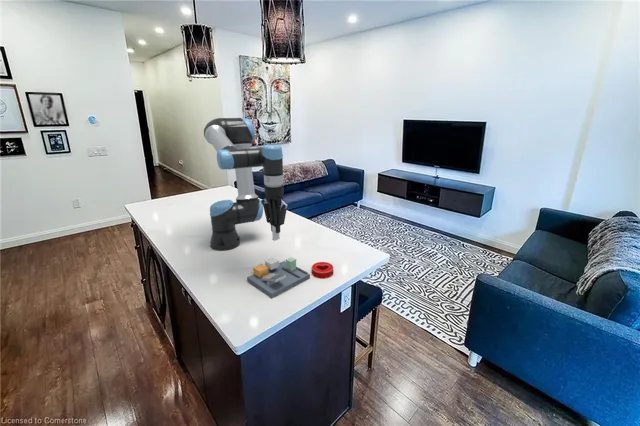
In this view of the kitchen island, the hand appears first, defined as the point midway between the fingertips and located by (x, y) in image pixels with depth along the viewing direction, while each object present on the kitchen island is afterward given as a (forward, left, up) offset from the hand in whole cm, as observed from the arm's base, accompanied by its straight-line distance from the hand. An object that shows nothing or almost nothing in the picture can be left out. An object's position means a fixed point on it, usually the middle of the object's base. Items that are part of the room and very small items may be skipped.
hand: (276, 239), depth 124 cm
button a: (0, -8, -13) cm, 16 cm away
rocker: (+8, -8, -11) cm, 16 cm away
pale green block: (+5, +4, -14) cm, 15 cm away
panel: (+5, -3, -16) cm, 17 cm away
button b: (0, -2, -12) cm, 12 cm away
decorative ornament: (+14, +14, -16) cm, 26 cm away
